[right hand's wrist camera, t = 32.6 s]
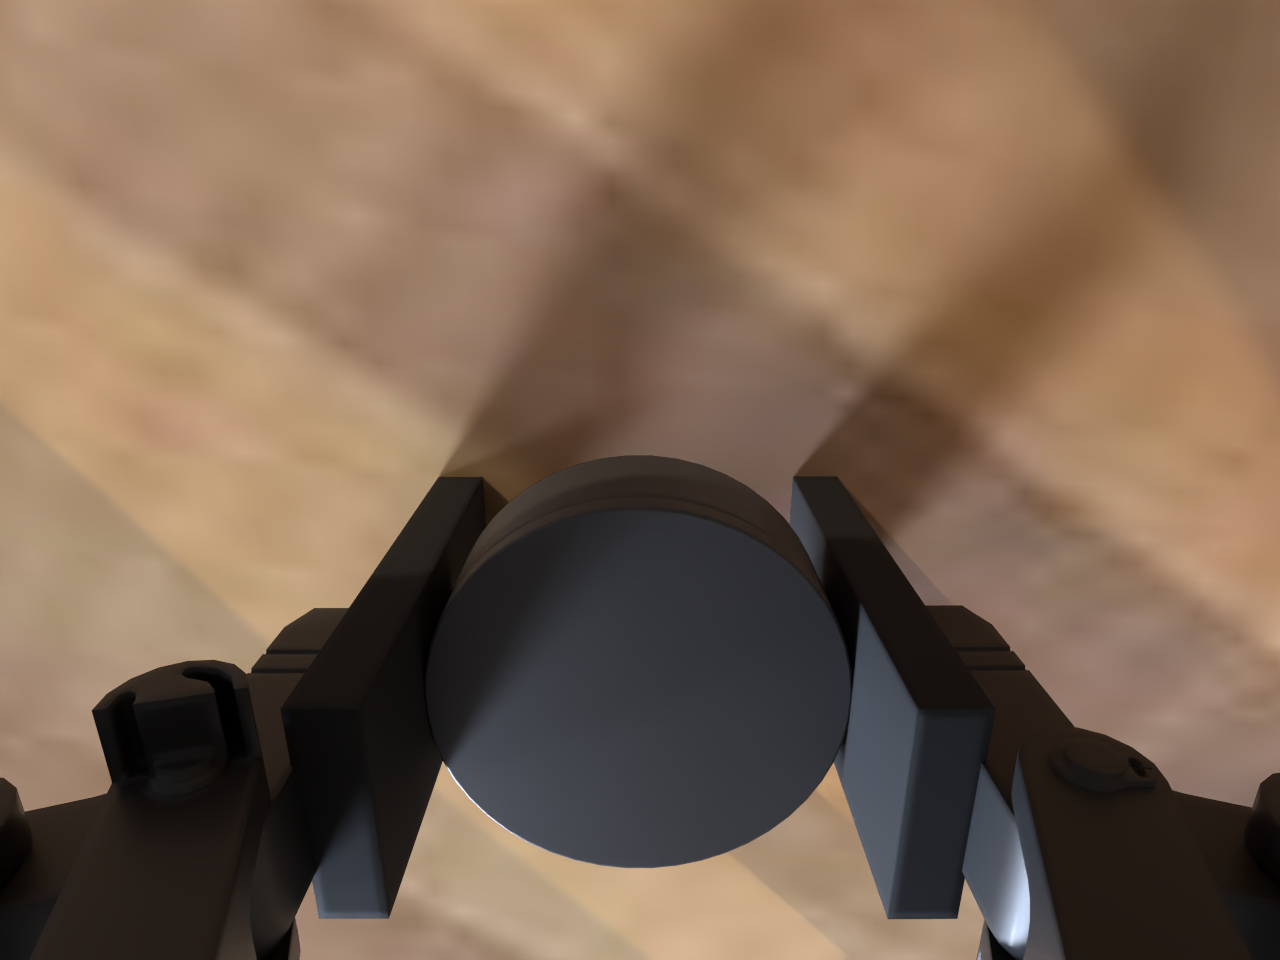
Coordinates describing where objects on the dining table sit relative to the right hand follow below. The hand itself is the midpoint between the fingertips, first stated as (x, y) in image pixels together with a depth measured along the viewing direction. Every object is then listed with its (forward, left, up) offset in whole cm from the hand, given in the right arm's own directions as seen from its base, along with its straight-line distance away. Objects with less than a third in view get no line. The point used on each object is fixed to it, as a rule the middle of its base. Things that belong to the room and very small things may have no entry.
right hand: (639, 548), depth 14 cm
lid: (0, 0, +4) cm, 4 cm away
